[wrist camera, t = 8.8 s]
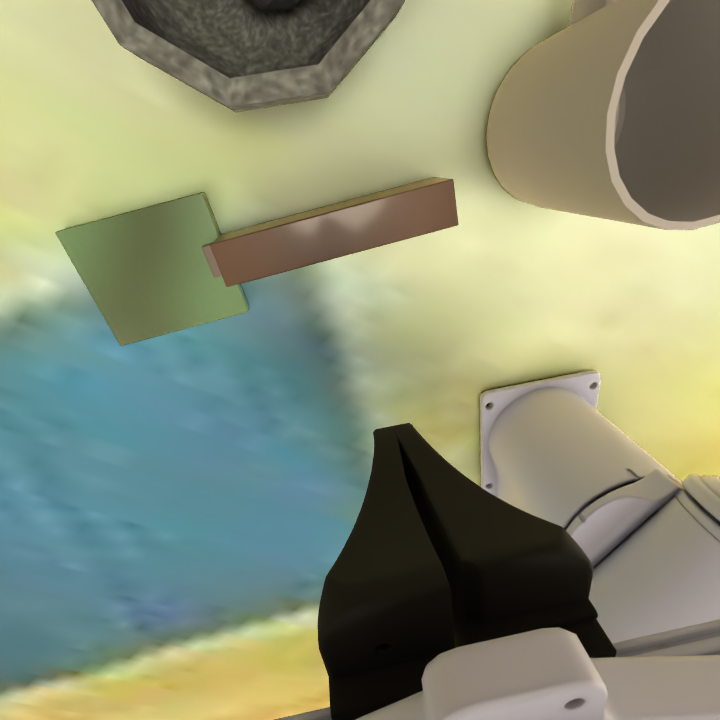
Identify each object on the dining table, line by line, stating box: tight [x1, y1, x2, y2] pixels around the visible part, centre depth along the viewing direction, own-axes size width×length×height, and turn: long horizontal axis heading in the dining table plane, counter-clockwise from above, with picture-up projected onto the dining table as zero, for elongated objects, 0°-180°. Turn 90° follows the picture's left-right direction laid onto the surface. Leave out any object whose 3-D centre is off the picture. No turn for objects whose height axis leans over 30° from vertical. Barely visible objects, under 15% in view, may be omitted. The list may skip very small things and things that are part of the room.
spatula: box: [55, 177, 458, 346], centre depth 19 cm, size 18×6×3 cm, turn 103°
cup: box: [486, 0, 720, 230], centre depth 15 cm, size 7×10×9 cm
